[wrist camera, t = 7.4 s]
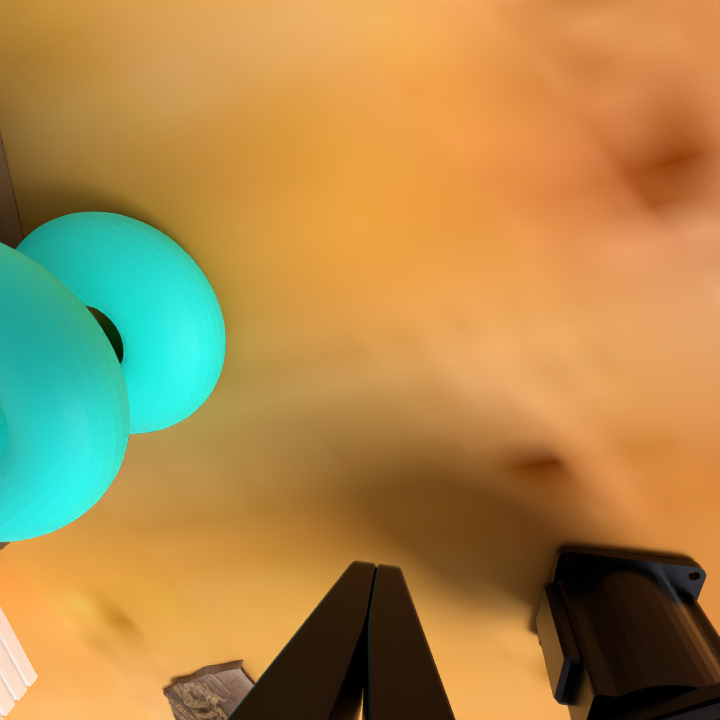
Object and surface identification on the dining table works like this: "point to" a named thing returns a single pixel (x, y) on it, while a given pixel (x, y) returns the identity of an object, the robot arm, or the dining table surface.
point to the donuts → (94, 359)
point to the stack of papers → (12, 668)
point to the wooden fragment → (209, 692)
